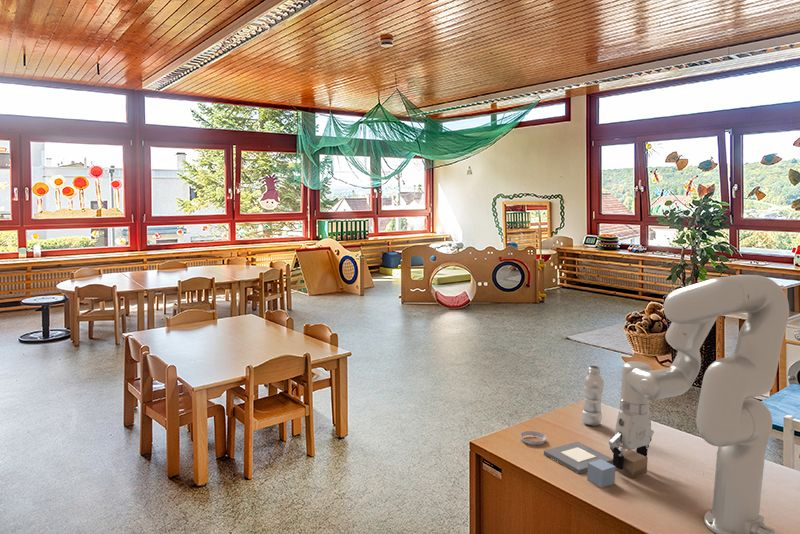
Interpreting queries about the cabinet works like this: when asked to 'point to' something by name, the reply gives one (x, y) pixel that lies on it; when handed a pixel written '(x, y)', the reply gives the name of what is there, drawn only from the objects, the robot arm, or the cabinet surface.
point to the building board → (576, 456)
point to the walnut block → (633, 464)
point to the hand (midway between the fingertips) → (629, 463)
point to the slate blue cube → (601, 473)
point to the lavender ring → (533, 435)
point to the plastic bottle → (592, 397)
